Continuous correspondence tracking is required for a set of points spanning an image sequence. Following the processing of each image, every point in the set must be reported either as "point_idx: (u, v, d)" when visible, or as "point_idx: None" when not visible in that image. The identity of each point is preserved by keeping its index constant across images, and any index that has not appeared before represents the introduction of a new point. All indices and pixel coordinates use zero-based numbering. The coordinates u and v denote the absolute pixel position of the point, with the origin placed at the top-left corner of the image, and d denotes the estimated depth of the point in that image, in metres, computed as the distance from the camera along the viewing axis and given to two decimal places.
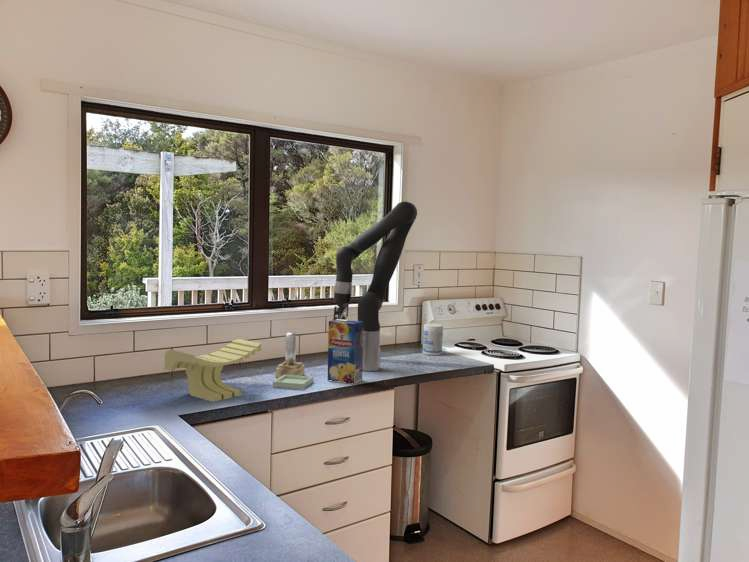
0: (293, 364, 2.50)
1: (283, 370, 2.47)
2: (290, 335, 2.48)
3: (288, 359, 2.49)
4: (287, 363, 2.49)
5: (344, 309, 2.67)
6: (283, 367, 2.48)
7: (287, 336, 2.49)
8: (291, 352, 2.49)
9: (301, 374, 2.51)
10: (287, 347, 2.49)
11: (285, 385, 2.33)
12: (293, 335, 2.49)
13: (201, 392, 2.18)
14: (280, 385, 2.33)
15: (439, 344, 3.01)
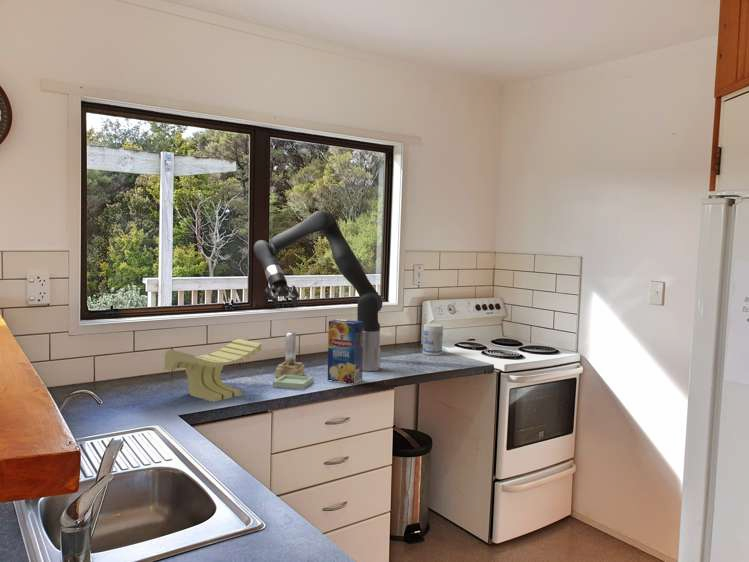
0: (293, 364, 2.50)
1: (283, 370, 2.47)
2: (290, 335, 2.48)
3: (288, 359, 2.49)
4: (287, 363, 2.49)
5: (278, 287, 2.66)
6: (283, 367, 2.48)
7: (287, 336, 2.49)
8: (291, 352, 2.49)
9: (301, 374, 2.51)
10: (287, 347, 2.49)
11: (285, 385, 2.33)
12: (293, 335, 2.49)
13: (201, 392, 2.18)
14: (280, 385, 2.33)
15: (439, 344, 3.01)
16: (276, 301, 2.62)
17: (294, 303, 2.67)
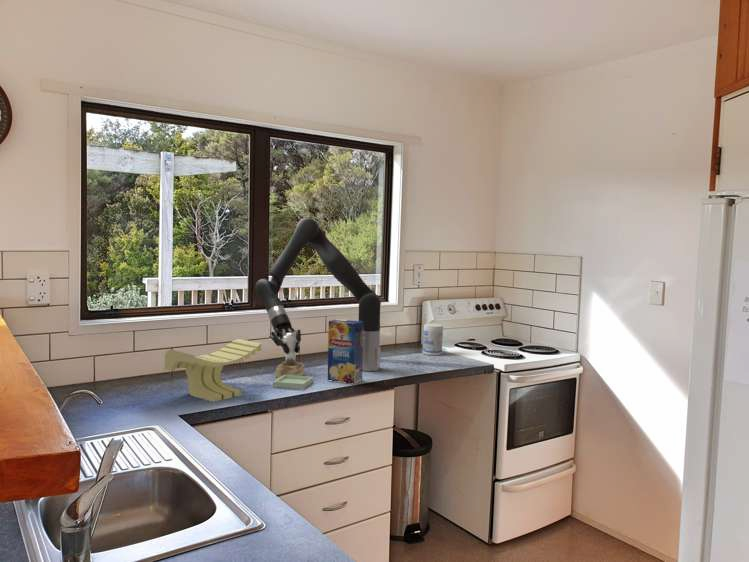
0: (293, 364, 2.50)
1: (283, 370, 2.47)
2: (290, 335, 2.48)
3: (288, 359, 2.49)
4: (287, 363, 2.49)
5: (282, 330, 2.52)
6: (283, 367, 2.48)
7: (287, 336, 2.49)
8: (291, 352, 2.49)
9: (301, 374, 2.51)
10: None
11: (285, 385, 2.33)
12: (293, 335, 2.49)
13: (201, 392, 2.18)
14: (280, 385, 2.33)
15: (439, 344, 3.01)
16: (285, 347, 2.48)
17: (296, 349, 2.51)
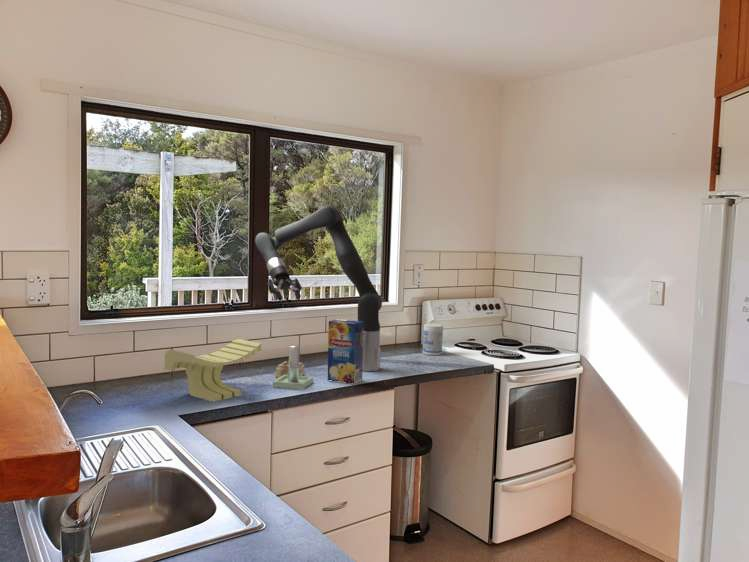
0: (296, 379, 2.37)
1: (283, 370, 2.47)
2: (294, 348, 2.36)
3: (291, 374, 2.36)
4: (290, 378, 2.37)
5: (280, 280, 2.61)
6: (283, 367, 2.48)
7: (290, 349, 2.36)
8: (294, 367, 2.36)
9: (301, 374, 2.51)
10: (290, 361, 2.36)
11: (285, 385, 2.33)
12: (297, 348, 2.36)
13: (201, 392, 2.18)
14: (280, 385, 2.33)
15: (439, 344, 3.01)
16: (279, 294, 2.57)
17: (297, 296, 2.62)
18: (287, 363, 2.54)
